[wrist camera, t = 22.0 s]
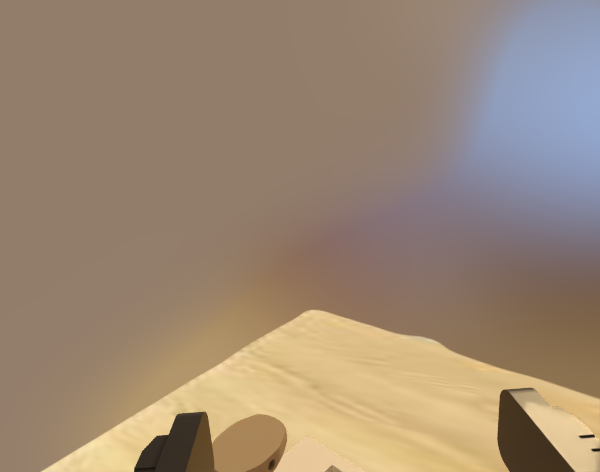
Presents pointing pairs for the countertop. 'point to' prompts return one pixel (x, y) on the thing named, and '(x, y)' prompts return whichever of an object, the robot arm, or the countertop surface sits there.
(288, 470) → the plate
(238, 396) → the countertop surface
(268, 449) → the handle
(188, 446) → the robot arm
